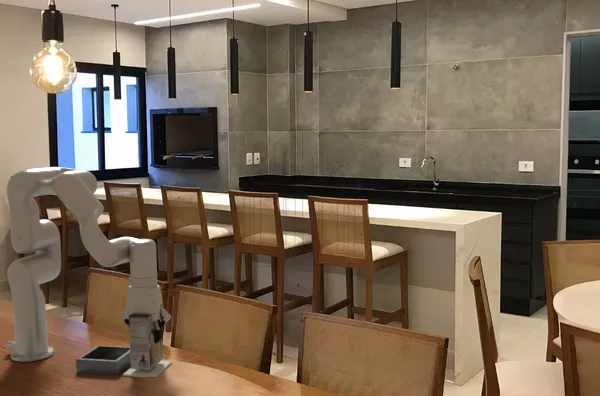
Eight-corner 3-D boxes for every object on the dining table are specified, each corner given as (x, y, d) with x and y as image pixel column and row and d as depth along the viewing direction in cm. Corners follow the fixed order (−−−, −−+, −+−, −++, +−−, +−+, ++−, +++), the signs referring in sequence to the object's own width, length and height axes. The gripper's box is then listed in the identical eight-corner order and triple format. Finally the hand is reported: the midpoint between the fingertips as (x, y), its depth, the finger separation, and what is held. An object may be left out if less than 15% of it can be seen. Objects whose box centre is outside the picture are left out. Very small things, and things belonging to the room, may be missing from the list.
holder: (76, 372, 193) (75, 359, 193) (98, 357, 206) (97, 345, 206) (117, 375, 191) (116, 361, 190) (137, 359, 204) (136, 347, 203)
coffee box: (143, 358, 200) (141, 306, 198) (163, 359, 199) (161, 307, 197) (130, 369, 191) (127, 315, 189) (150, 370, 190) (148, 316, 188)
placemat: (123, 376, 190) (123, 374, 190) (141, 361, 202) (141, 359, 202) (155, 378, 188) (155, 375, 188) (171, 363, 200) (171, 361, 200)
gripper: (110, 283, 190) (113, 343, 192) (166, 285, 187) (169, 347, 189) (122, 277, 198) (124, 335, 199) (176, 279, 194) (178, 338, 196)
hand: (146, 340), depth 194 cm, fingers closed on coffee box, 6 cm apart
